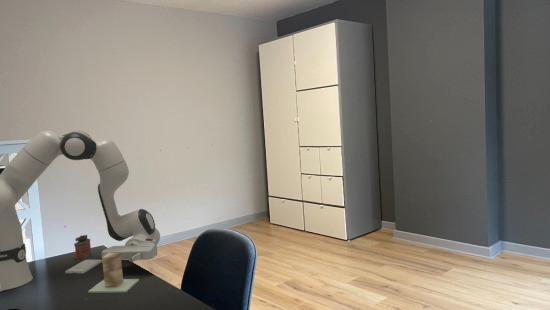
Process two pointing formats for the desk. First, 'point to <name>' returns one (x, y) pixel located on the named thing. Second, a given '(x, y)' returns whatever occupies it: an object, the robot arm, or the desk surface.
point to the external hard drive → (83, 266)
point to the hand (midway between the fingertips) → (119, 260)
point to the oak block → (112, 270)
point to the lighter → (82, 248)
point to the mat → (123, 287)
